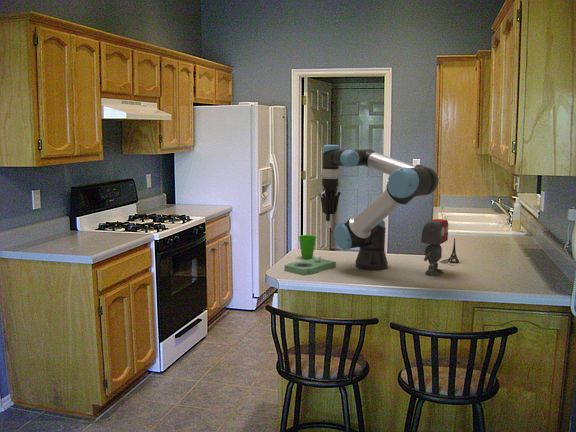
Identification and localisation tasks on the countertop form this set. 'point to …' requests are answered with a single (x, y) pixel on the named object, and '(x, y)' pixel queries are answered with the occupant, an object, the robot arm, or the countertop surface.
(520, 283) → the countertop surface
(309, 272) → the green flat slab
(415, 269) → the countertop surface
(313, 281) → the countertop surface
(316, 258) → the ball
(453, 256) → the eiffel tower figurine
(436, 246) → the toy robot
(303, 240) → the cup
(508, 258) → the countertop surface
